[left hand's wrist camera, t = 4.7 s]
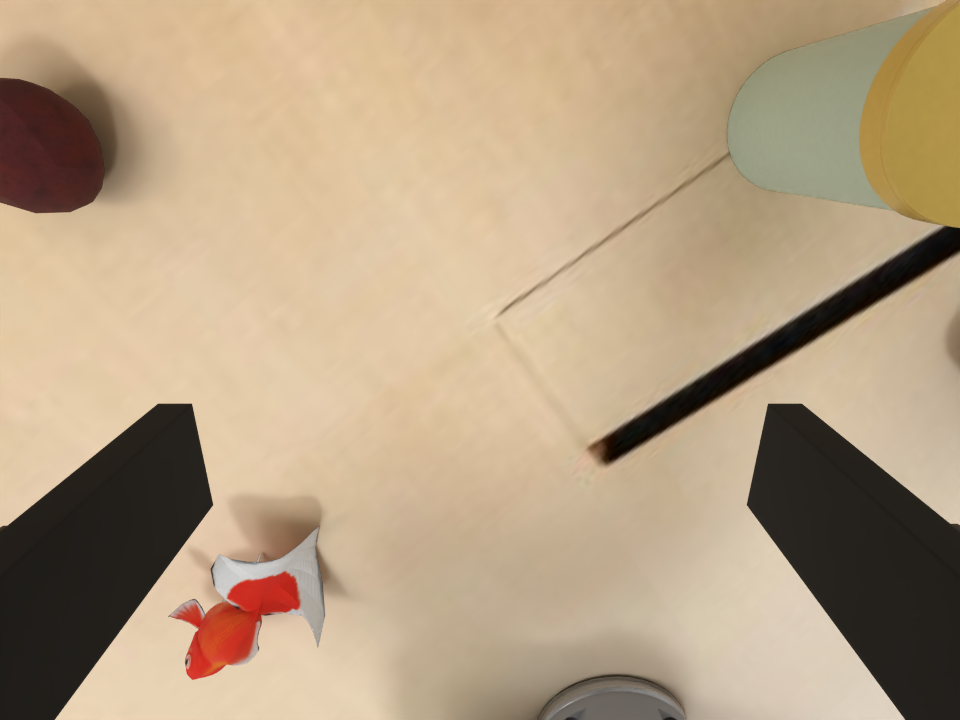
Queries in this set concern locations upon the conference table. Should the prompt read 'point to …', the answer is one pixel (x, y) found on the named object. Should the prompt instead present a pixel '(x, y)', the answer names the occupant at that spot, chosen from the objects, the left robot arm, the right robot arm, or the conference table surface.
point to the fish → (252, 606)
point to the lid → (917, 121)
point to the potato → (46, 151)
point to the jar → (812, 115)
